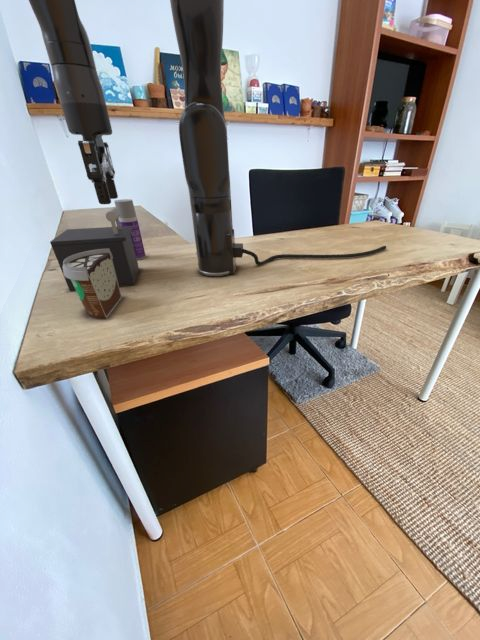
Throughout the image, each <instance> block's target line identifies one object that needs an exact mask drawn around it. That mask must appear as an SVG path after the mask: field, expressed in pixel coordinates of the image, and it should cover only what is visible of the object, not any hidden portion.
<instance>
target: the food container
mask: <svg viewBox="0 0 480 640" xmlns="http://www.w3.org/2000/svg"><path fill="white" fill-rule="evenodd" d="M112 259H113V256H112V254H111V252H110V249H97V250H90V251H85V252H81V253H77V254H74V255H72V256H69V257H67V258H66V259H64V261H63V273H64V275H63V277H64V276H65V277H66V278H68V279H71V281H72V283H73V285H74V287H75V289H76V291H75V292H76V293H77V296H78V297H79V300H80V301H81V304H82V306H83V308H84V310H85V312H86V314H87V315H88V316H89V317H90V318H94V319H97V320H107V319H108V318H109V316H110V314H111V313H112V312H113V311H114V310H115V308H116V306H117V305H119V303H120V301H121V300H122V298H123V296H122V293H121V288H120V286H119V284H118V280H117V276H116V272H115V268H114V264H113V261H112ZM63 273H62V274H63Z"/></svg>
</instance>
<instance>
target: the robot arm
mask: <svg viewBox="0 0 480 640" xmlns="http://www.w3.org/2000/svg"><path fill="white" fill-rule="evenodd" d="M28 2H29V4H30V5H29V6H30V7H31V9H32V12H33V14H34V17H35V19H36V21H37V24H38V25H39V28H40V32H41V36H42V40H43V44H44V47H45V50H46V54H47V57H48V61H49V64H50V67H51V71H52V76H53V82H54V87H55V90H56V93H57V96H58V100H59V103H60V106H61V110H62V113H63V116H64V120H65V124H66V126H67V129H68V132H69V134H71V135H75V136H76V135H77V136H82V140H77V145H78V147H79V150H80V154H81V158H82V162H83V164H84V165H83V166H84V169H85V172H86V177H87V179H88V180H89V181H90V182H91V183H92V184H93V186H94V190H95V194H96V199H97V201H98V203H99V204H100V205H110V204H112V200H115V199H116V200H117V199H118V198H119V194H118V191H117V187H116V183H115V175H116V171H115V168H114V165H113V160H112V156H111V152H110V148H109V147H110V146H109V143H108V142H105V141H104V140H103V139H104V138H103V136H111V135H112V134H113V129H112V124H111V120H110V116H109V111H108V107H107V102H106V97H105V94H104V90H103V86H102V83H101V80H100V77H99V74H98V71H97V65H96V61H95V57H94V54H93V53H94V52H93V50H92V45H91V41H90V38H89V35H88V32H87V30H86V28H85V26H84V24H83V22H82V20H81V18H80V15H79V12H78V8H77V4H76V0H28ZM224 2H225V0H169V3H170V10H171V16H172V17H171V18H172V23H173V28H174V32H175V38H176V42H177V43H176V44H177V47H178V51H179V56H180V63H181V67H182V75H183V76H182V77H183V92H184V93H183V95H184V109H183V110H182V112H181V114H180V117H179V122H178V135H179V145H180V151H181V158H182V165H183V171H184V177H185V182H186V185H187V189H188V197H189V203H190V211H191V220H192V227H193V228H192V229H193V233H194V241H195V242H194V243H195V249H196V257H197V265H198V273H199V274H200V275H202V276H206V277H223V276H224V277H225V276H228V275H235V272H236V270H237V258H238V259H239V258H240V259H242V258H243V255H244V254H246V255H248V256H251V257H252V258H253V260H254V263H255V264H256V265H257V266H263V265H265V264H267V263H270V262H272V261H274V260H278V259H346V258H356V257H363V256H368V255H373V254H376V253H379V252H382V251H384V250H386V249H387V245H382V246H380V247H378V248H375V249H371V250H366V251H362V252H356V253H343V254H296V253H295V254H291V253H290V254H286V253H285V254H284V253H283V254H275V255H272V256H270V257H267V258H266V259H265V260H263V261H260V260H259V257H258V255H257V254H256V253H255V252H253V251H251V250H248V249H245V248H244V243H237V242H236V239H235V237H236V236H235V229H234V228H233V227H234V226H233V210H232V209H233V208H232V195H231V177H230V161H229V146H228V143H229V142H228V129H227V125H226V118H225V111H224V101H223V90H222V57H223V40H224V14H225V13H224V11H225V10H224V9H225V8H224V7H225V3H224Z"/></svg>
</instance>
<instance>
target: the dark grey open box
mask: <svg viewBox="0 0 480 640" xmlns="http://www.w3.org/2000/svg"><path fill="white" fill-rule="evenodd" d="M51 248H52V251H53V253H54V255H55V259H56V260H57V263H58V266H59V268H60V271H61V273H62V276H63V277H64V280H65V283H66V285H67V288H68V291H69V292H77V291H76V289H75V287H74V285H73V283H72V281H71V279H68V278H66V277H65V276H64V273H63V261H64V259H66V258H67V257H69V256H72V255H74V254H77V253H81V252H85V251H90V250H97V249H110V252H111V254H112V256H113V259H112V261H113V264H114V268H115V272H116V276H117V280H118V284H119V287H130V286H135V283H136V280H137V277H138V273H139V270H140V267H139V263H138V260H137V259H136V255H135V251H134V247H133V243H132V239H131V235H129V237H128V239H127V240H126V241H118V242H103V243H87V244H72V245H56V246H51Z"/></svg>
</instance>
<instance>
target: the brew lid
mask: <svg viewBox="0 0 480 640" xmlns="http://www.w3.org/2000/svg"><path fill="white" fill-rule="evenodd" d="M119 216H120V210H119V209H118V208H116V206H114V207H111V209H109V210H108V211H107V212H106V213H105V219H106V220H107V221H108V222H110V224H111V226H103V227H85V228H70V229H69V228H67V229H65V230H64V231H63V232H62V233H60V234H58V236H56V237H55V238H53V239H51V240H50V242H49V243H50V245H51V247H52V246H56V245H72V244H87V243H103V242H118V241H126V240H127V239H128V237H129V235H130V233H131V231H132V229H133V228H132V226H121V225H120V221H119V218H118V217H119Z"/></svg>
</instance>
